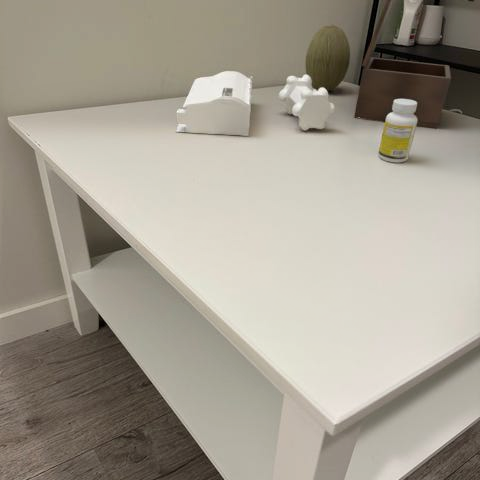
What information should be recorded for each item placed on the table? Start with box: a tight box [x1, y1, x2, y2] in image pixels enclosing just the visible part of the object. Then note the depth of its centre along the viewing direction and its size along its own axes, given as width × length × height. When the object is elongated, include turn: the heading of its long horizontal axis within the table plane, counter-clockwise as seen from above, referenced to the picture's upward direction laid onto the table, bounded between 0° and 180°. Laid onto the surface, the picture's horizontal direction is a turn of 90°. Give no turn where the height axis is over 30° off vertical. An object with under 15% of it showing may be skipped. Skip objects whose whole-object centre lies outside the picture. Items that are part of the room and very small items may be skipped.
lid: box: [361, 0, 394, 68], centre depth 102 cm, size 19×15×9 cm
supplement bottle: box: [378, 99, 417, 164], centre depth 85 cm, size 5×5×10 cm
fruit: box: [305, 24, 351, 92], centre depth 123 cm, size 11×11×15 cm
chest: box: [353, 56, 452, 130], centre depth 109 cm, size 18×15×10 cm
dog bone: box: [278, 73, 335, 132], centre depth 101 cm, size 15×9×8 cm, turn 10°
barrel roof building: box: [175, 70, 253, 137], centre depth 102 cm, size 25×15×7 cm, turn 178°
